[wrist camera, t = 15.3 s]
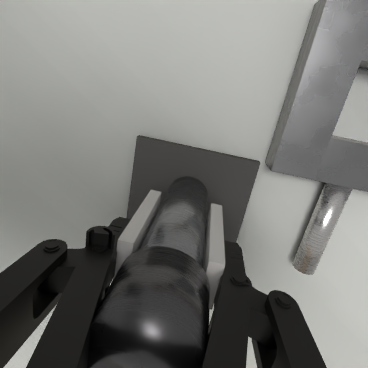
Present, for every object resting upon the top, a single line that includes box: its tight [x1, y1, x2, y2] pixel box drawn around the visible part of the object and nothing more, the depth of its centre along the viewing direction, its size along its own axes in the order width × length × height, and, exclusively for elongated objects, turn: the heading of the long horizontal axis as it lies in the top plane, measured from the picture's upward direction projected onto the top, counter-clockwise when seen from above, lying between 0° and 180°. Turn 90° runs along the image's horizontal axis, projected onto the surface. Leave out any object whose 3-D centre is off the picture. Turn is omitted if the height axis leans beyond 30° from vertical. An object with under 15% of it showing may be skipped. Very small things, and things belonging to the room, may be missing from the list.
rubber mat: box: [127, 135, 260, 243], centre depth 22 cm, size 10×8×1 cm
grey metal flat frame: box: [265, 0, 368, 275], centre depth 19 cm, size 11×19×2 cm, turn 169°
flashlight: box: [87, 176, 210, 368], centre depth 15 cm, size 4×4×14 cm
